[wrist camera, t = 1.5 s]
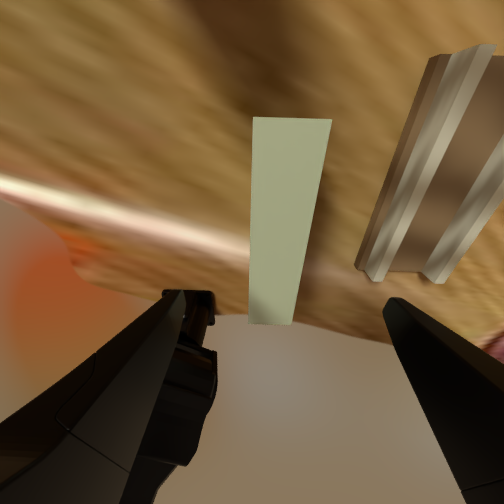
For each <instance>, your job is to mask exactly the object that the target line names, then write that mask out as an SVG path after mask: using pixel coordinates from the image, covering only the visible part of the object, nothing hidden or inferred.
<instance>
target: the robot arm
mask: <svg viewBox="0 0 504 504" xmlns="http://www.w3.org/2000/svg"><path fill="white" fill-rule="evenodd" d="M207 294H208V295H207ZM382 313H383V317H384V320H385V323H386V326H387V329H388V332H389V335H390V337H391V340H392V343H393V346H394V348H395V350H396V353H397V355H398V358H399V360H400V362H401V364H402V366H403V368H404V370H405V373H406V375H407V377H408V379H409V381H410V383H411V385H412V388H413V390H414V392H415V394H416V396H417V398H418V400H419V403H420V405H421V407H422V409H423V411H424V413H425V415H426V417H427V420H428V422H429V424H430V426H431V428H432V431H433V433H434V435H435V437H436V439H437V441H438V443H439V445H440V447H441V450H442V452H443V454H444V456H445V458H446V460H447V463H448V465H449V467H450V469H451V471H452V473H453V476H454V478H455V480H456V482H457V484H458V486H459V489H460V490H461V493H462V495H463V498H464V500H465V502H466V504H504V364H503V363H501V362H500V361H498V360H497V359H495V358H493V357H492V356H490V355H489V354H487V353H486V352H484V351H483V350H481V349H480V348H478V347H477V346H475V345H473V344H472V343H470V342H469V341H467V340H466V339H464V338H463V337H461V336H460V335H458V334H457V333H455V332H453V331H452V330H450V329H449V328H447V327H446V326H444V325H443V324H441V323H440V322H438V321H436V320H435V319H433V318H432V317H430V316H429V315H427V314H426V313H424V312H423V311H421V310H420V309H418V308H416V307H415V306H413V305H412V304H410V303H409V302H407V301H406V300H404V299H403V298H398V297H391V298H389V300H388V301H387V303H386V305H385V307H384V308H383V311H382ZM214 324H215V317H214V308H213V299H212V293H211V292H210V291H198V290H181V289H173V290H163V292H162V298H161V299H160V300H159V301H158V302H156V303H155V304H154V305H153V306H151V307H150V308H149V309H148V310H147V311H145V312H144V313H143V314H142V315H140V316H139V317H138V318H137V319H135V320H134V321H133V322H132V323H130V324H129V325H128V326H127V327H126V328H124V329H123V330H122V331H121V332H119V334H117V335H116V336H115V337H113V338H112V339H111V340H110V341H108V342H107V343H106V344H105V345H103V346H102V347H101V348H100V349H99V350H97V351H96V353H93V354H92V355H91V356H90V357H89V358H87V359H86V360H85V361H84V362H82V363H81V364H80V365H79V366H77V367H76V368H75V369H73V370H72V371H71V372H70V373H68V374H67V375H66V376H64V377H63V378H62V379H60V380H59V381H58V382H56V383H55V384H54V385H52V386H51V387H50V388H48V389H47V390H45V391H44V392H43V393H41V394H40V395H38V396H37V397H36V398H34V399H33V400H32V401H30V402H29V403H27V404H26V405H25V406H23V407H22V408H20V409H19V410H18V411H16V412H15V413H13V414H12V415H11V416H9V417H8V418H6V419H5V420H4V421H2V422H1V423H0V504H153V502H154V499H155V497H156V494H157V491H158V489H159V488H160V486H161V485H162V484H163V483H164V481H165V480H166V479H167V478H168V477H169V475H170V474H171V473H172V472H173V471H174V469H175V468H176V467H177V466H178V465H180V466H187V465H188V464H189V462H190V461H191V459H192V457H193V456H194V454H195V453H196V451H197V448H198V443H199V439H200V435H201V431H202V427H203V424H204V420H205V418H206V415H207V413H208V412H209V410H210V408H211V407H212V404H213V401H214V399H215V395H216V391H217V382H218V378H217V352H216V351H214V350H213V351H211V350H209V349H206V348H204V347H202V344H203V340H204V336H205V332H206V328H207V326H212V325H214Z"/></svg>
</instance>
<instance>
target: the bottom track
mask: <svg viewBox="0 0 504 504" xmlns="http://www.w3.org/2000/svg"><path fill="white" fill-rule="evenodd" d="M496 46H497V45H494V44H479V45H476V46H473V47H471V48H468V49H465V50H462V51H460V52H457V53H454V54H439V55H437V56H434V57H431V58H429V61H428V64H427V67H426V69H425V72H424V75H423V77H422V80H421V83H420V86H419V88H418V91H417V94H416V97H415V99H414V102H413V105H412V108H411V110H410V113H409V116H408V118H407V121H406V124H405V127H404V129H403V132H402V135H401V138H400V140H399V143H398V146H397V148H396V151H395V154H394V157H393V159H392V162H391V165H390V168H389V170H388V173H387V176H386V179H385V181H384V184H383V187H382V189H381V192H380V195H379V198H378V200H377V203H376V206H375V209H374V211H373V214H372V217H371V219H370V222H369V225H368V228H367V230H366V233H365V236H364V239H363V241H362V244H361V247H360V250H359V252H358V255H357V258H356V260H355V263H354V265H355V267H356V268H357V270H365V272H366V273H367V275H368V276H369V277H370V279H371V280H372V281H374V282H382V281H383V279H384V277H385V275H386V273H387V271H414V272H422V273H423V274H424V275H425V276H426V277H427V278H429V279H430V280H431V281H432V282H433V283H438V284H444V282H445V281H446V279H447V278H448V277H449V275H450V274H451V272H452V271H453V269H454V268H455V267H456V265H457V264H458V262H459V261H460V260H461V258H462V257H463V255H464V254H465V252H466V251H467V250H468V248H469V247H470V245H471V244H472V242H473V241H474V240H475V238H476V237H477V235H478V234H479V233H480V231H481V230H482V228H483V227H484V225H485V224H486V223H487V221H488V220H489V218H490V217H491V215H492V214H493V213H494V211H495V210H496V208H497V207H498V206H499V204H500V203H501V201H502V200H503V198H504V56H492V55H493V53H494V51H495V48H496Z"/></svg>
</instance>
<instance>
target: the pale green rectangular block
mask: <svg viewBox="0 0 504 504" xmlns="http://www.w3.org/2000/svg"><path fill="white" fill-rule="evenodd" d="M331 123H332V119H308V118H274V117H253V139H252V182H251V225H250V268H249V311H248V324H267V325H268V324H269V325H291V324H292V319H293V314H294V309H295V304H296V299H297V294H298V289H299V284H300V279H301V274H302V269H303V264H304V258H305V253H306V248H307V243H308V238H309V233H310V228H311V223H312V218H313V213H314V208H315V203H316V198H317V193H318V188H319V183H320V178H321V173H322V168H323V163H324V158H325V153H326V148H327V143H328V138H329V133H330V128H331Z"/></svg>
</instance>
